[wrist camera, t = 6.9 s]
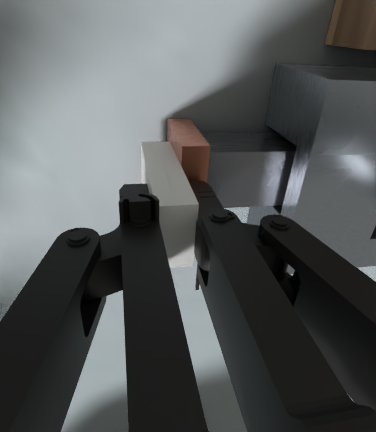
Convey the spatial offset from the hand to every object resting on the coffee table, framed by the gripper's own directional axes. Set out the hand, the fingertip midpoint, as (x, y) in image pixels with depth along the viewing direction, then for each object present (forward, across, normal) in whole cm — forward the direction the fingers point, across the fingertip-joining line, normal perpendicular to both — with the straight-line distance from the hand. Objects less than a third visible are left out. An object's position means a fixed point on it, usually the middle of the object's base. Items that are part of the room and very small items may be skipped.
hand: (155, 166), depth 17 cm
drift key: (+1, +5, 0) cm, 5 cm away
